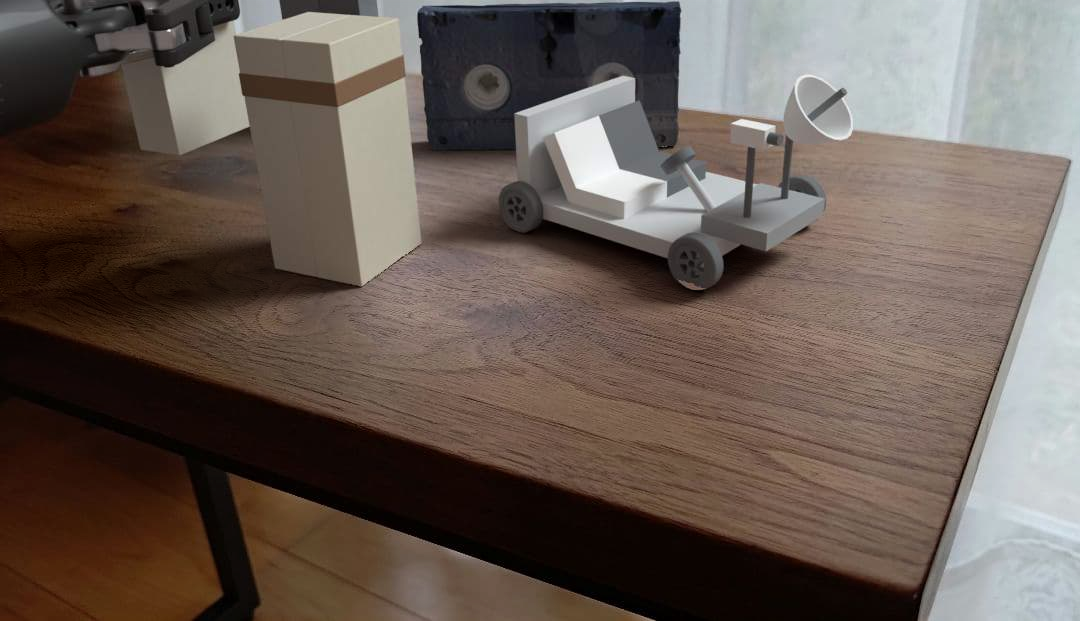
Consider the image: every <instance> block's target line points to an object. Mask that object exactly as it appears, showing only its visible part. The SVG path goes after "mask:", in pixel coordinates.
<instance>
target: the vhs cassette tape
mask: <svg viewBox="0 0 1080 621" xmlns="http://www.w3.org/2000/svg"><path fill="white" fill-rule="evenodd" d="M681 13H682V7H681V3H680V1H679V0H677V1H674V0H673V1H665V2H663V1H623V2H622V1H621V2H617V1H616V2H612V1H611V2H610V1H609V2H591V3H586V2H585V3H584V2H580V3H579V2H576V3H575V2H574V3H571V2H570V3H568V2H551V3H545V2H544V3H503V4H501V3H500V4H485V5H472V4H471V5H470V4H469V5H468V4H467V5H466V4H449V5H448V4H447V5H422V7H420V8H419V9H418V10H417V13H416V14H417V15H416V20H417V22H416V23H417V31H418V32H417V33H418V39H420V40H421V44H420V45H419V54H420V73H421V76H422V92H423V101H424V106H423V111H424V114H425V123H426V137H427V142H428V147H429V149H430V150H431V151H458V150H457V149H459V150H470V151H472V150H473V151H474V150H475V151H476V150H477V151H479V150H480V151H481V150H483V151H486V150H487V151H488V150H489V149H495V151H496V150H498V149H500V150H503V149H511V150H516V136H515V115H514V113H517V112H520V111H523V110H526V109H529V108H532V107H535V106H537V105H540V104H543V103H546V102H549V101H552V100H555V99H557V98H560V97H563V96H566V95H569V94H572V93H575V92H578V91H580V90H583V89H586V88H589V87H592V86H595V85H598V84H600V83H603V82H606V81H609V80H612V79H615V78H618V77H620V76H627V77H632V78H635V102H636V101H639V100H640V103H641V105H642V108H643V111H644V113H645V116H646V118H647V121H648V124H649V126H650V129H651V132H652V134H653V137H654V139H655V142H656V145H657V147H662V146H664V147H665V146H673V147H675V146H676V145H677V143H678V138H679V130H680V129H679V128H680V127H679V111H680V110H679V88H680V79H679V77H680V55H681V46H680V43H681V37H680V36H681V34H680V33H681V24H682V23H681V22H682V21H681V20H682V19H681V18H682V17H681ZM449 149H450V150H449ZM484 149H485V150H484ZM489 151H490V150H489Z"/></svg>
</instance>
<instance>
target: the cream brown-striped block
mask: <svg viewBox="0 0 1080 621" xmlns="http://www.w3.org/2000/svg"><path fill="white" fill-rule="evenodd" d="M234 42H235V48H236V53H237V59H238V64H239V70H240V73H239V79H240V85H241V90H242V95H243V96H244V98H245V103H246V109H247V115H248V120H249V126H250V127H249V131H250V136H251V141H252V147H253V148H252V149H253V154H254V159H255V166H256V170H257V176H258V181H259V187H260V191H261V198H262V203H263V209H264V215H265V220H266V226H267V231H268V236H269V243H270V249H271V253H272V259H273V265H274V268H275V269H276V270H281V271H285V272H290V273H294V274H299V275H305V276H308V277H309V276H310V277H312V278H313V277H314V278H318V279H323V280H329V281H332V282H337V283H343V284H346V285H351V284H352V285H351V286H356V285H357V287H363V286H365V285H366V284H368V283H369V282H370V281H372V280H373V279H375V278H376V277H377V275H378V274H379V275H380V274H382V273H383V272H385V271H386V270H387V269H389V268H390V267H391V266H390V265H392V264H393V263H394V262H396V261H397V260H398V259H400V258H401V257H402V256H404V257H406V256H405V254H407V255H409V254H410V253H411V252H410V251H412V250H413V249H414V248H415V247H417V246H418V245H419V244H421V245H422V235H421V234H422V233H421V227H420V226H421V225H420V216H419V215H420V214H419V205H418V195H417V185H416V177H415V175H416V174H415V166H414V158H413V148H412V146H413V145H412V137H411V136H412V135H411V128H410V126H411V125H410V117H409V108H408V98H407V88H406V87H407V86H406V76H407V75H406V64H405V56H404V54H403V47H402V38H401V27H400V19H399V18H397V17H387V16H386V17H383V16H378V17H372V16H358V15H352V16H351V15H344V14H330V13H316V12H306V13H303V14H300V15H297V16H294V17H291V18H287V19H284V20H282V19H280V20H278V21H274V22H272V23H269V24H266V25H262V26H259V27H255V28H253V29H250V30H247V31H244V32H240V33H236V35H234ZM417 248H418V247H417ZM414 250H415V249H414ZM414 250H413V251H414ZM413 251H412V252H413ZM409 252H410V253H409ZM408 253H409V254H408ZM400 260H401V259H400ZM397 262H398V261H397ZM397 262H396V263H397ZM393 265H394V264H393ZM393 265H392V266H393ZM389 266H390V267H389ZM388 267H389V268H388ZM385 269H386V270H385ZM384 270H385V271H384ZM381 272H382V273H381ZM379 275H378V276H379ZM375 276H376V277H375ZM374 277H375V278H374ZM368 281H369V282H368ZM367 282H368V283H367Z"/></svg>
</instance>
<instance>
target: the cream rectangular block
mask: <svg viewBox="0 0 1080 621" xmlns="http://www.w3.org/2000/svg"><path fill="white" fill-rule="evenodd" d="M125 3H128V5H129V8H130V9H131V6H130V4H129V2H125ZM213 30H214V36H215V41H214V42H212V43H211V44H209V45H208V46H206V47H205V48H203V49H202V50H200V51H198V52H197V53H195V54H194V55H192V56H191V57H189V58H188V59H186V60H185V61H183V62H182V63H180V64H177V65H175V66H174V67H169V68H165V67H164V66H156V64H155V59H154V57H152V58H148V59H144V60H140V61H136V62H132V63H127V64H123V65H121V66H120V67H121V70H122V75H123V80H124V84H125V88H126V93H127V96H128V97H127V98H128V101H129V106H130V110H131V114H132V118H133V123H134V127H135V132H136V135H137V140H138V144H139V149H140V150H141V151H146V152H153V153H159V154H167V155H173V156H177V157H179V156H183V155H185V154H187V153H190V152H192V151H194V150H196V149H199V148H202V147H204V146H206V145H209V144H211V143H214V142H215V141H219V140H221V139H223V138H226V137H228V136H230V135H231V136H232V135H234V134H235V133H237V132H240V131H243V130H245V129H247V128H250V126H249V120H248V115H247V109H246V103H245V98H244V96H243V95H242V90H241V85H240V79H239V73H240V70H239V64H238V59H237V53H236V48H235V42H234V35H237V31H236V27H235V20H234V21H230V22H227V23H223V24H220V25H216V26H213Z"/></svg>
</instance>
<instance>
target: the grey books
mask: <svg viewBox="0 0 1080 621" xmlns="http://www.w3.org/2000/svg"><path fill="white" fill-rule="evenodd" d="M278 2H279V8H280V14H281V20H284V19H287V18H291V17H294V16H297V15H300V14H303V13H306V12H316V13H330V14H344V15H351V16H352V15H358V16H372V17H379V9H378V0H278Z"/></svg>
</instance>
